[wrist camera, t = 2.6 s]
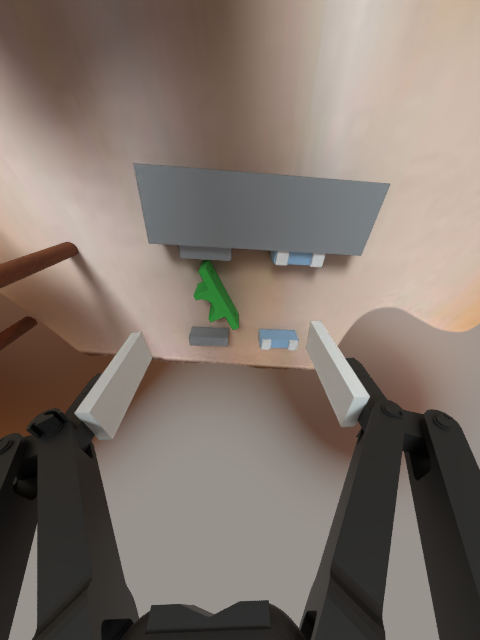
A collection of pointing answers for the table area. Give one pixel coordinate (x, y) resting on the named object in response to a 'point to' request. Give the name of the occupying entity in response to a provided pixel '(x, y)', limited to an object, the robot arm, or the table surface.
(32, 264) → the plant pot with stand
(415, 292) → the table surface
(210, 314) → the pipe clamp
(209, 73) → the table surface
